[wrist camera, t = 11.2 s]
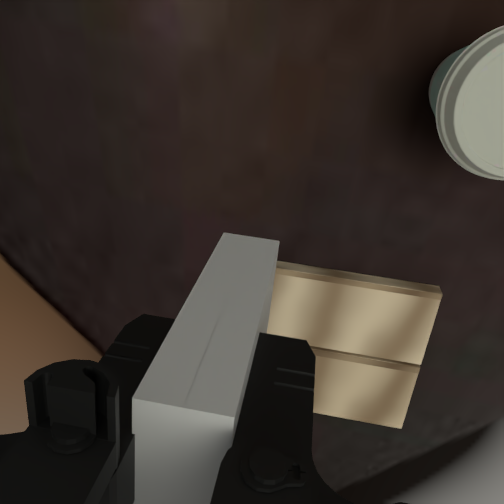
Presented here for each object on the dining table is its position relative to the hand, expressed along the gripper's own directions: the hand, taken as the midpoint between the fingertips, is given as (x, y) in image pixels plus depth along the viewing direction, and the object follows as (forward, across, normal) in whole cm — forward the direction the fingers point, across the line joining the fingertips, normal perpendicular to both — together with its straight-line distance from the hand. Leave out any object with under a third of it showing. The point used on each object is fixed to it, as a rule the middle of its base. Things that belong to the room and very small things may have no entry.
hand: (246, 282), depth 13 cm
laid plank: (+28, +4, -24) cm, 37 cm away
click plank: (+28, +4, -16) cm, 33 cm away
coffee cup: (+29, +12, +4) cm, 31 cm away
